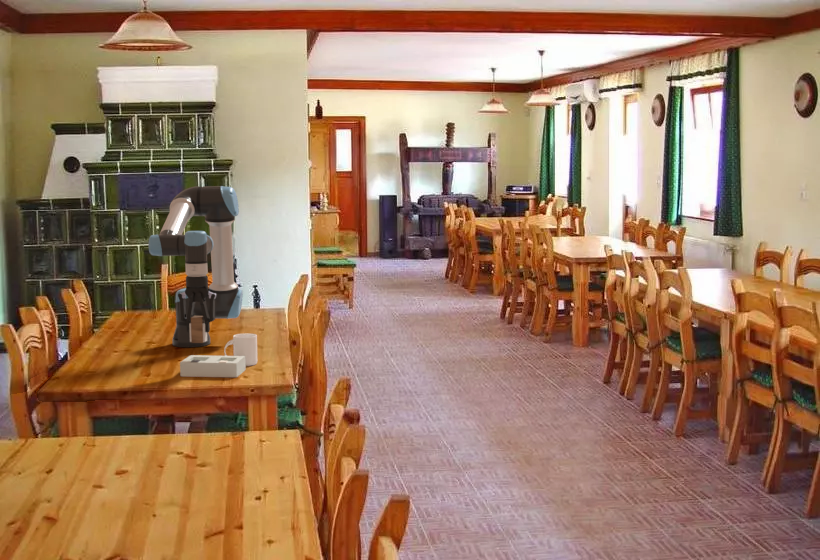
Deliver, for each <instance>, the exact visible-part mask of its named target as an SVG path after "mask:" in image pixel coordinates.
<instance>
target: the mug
mask: <svg viewBox="0 0 820 560" xmlns="http://www.w3.org/2000/svg"><path fill="white" fill-rule="evenodd" d="M231 345H233V356H245V367H251V366H255V365H257V364H258V335H257V334H256V333H245V332H244V333H237V334H234V335H233V336H232V339H230V340H229V341H227V343H226V344H225V345H224V348H223V349H224V351H223V353H224V356H228V355H227V353H226V349H227V347H229V346H231Z"/></svg>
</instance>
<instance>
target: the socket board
mask: <svg viewBox="0 0 820 560" xmlns="http://www.w3.org/2000/svg"><path fill="white" fill-rule="evenodd" d="M246 367H247V366H245V356H234V355H227V356H225V355H207V354H206V355H204V354H203V355H199V354H198V355H197V354H195V355H194V354H191V355H188V356H187V357H186V358H184V359H182V360H180V361H179V371H180V375H179V376H180V377H192V378H193V377H194V378H196V377H197V378H198V377H199V378H205V377H206V378H238V377H239V376H240V375H242V373H244V372H245V371H246V369H247V368H246Z"/></svg>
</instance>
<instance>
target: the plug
mask: <svg viewBox="0 0 820 560" xmlns="http://www.w3.org/2000/svg"><path fill="white" fill-rule="evenodd" d="M203 323H204V317H203V316H193V317H191V341H192V343H204V342H203Z"/></svg>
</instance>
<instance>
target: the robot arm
mask: <svg viewBox="0 0 820 560" xmlns="http://www.w3.org/2000/svg"><path fill="white" fill-rule="evenodd" d="M239 207H240V206H239V199H238V196H237V192H236V190H235V188H233V187H232V186H223V185H215V186H214V185H213V186H212V185H209V186H207V185H205V186H195V185H194V186H192V187H188V188H186V189H183V190H182V191H180V192H179V193H177V194H176V196H175V197H173V199H172V200H171V201H170V205H169V213H168V214H167V217H166V219H165V222H164V224H163V226H162V227H161V230H160V231H159V234H158V233H156V234H151V235H150V236H149V239H148V252H149V254H150V255H151V256H154V257H155V256H158V257H171V256H172V257H173V256H174V257H177V256H179V257H182V256H184V257H185V258H184V259H185V262H184V263H185V275H186V277H185V287H184V288H181V289H179V290H177V291H176V292H175V300H174V303H175V324H176V325H175V330H174V332H173V336H172V340H171V341H172V346H173V347H178V348H196V347H197V348H199V347H205V346H208V345H210V344H211V336H210V334H209V332H210V330H211V329H210V324H211V323H212V322H214V321H215V320H216V319H219V320H221V319H227V320H228V319H236V318H238V317H239V316H240V314H241V310H242V305H243V297H244V296H243V290H242V289H239V284H237V282H235V273H234V256H233V255H234V254H233V253H234V252H233V251H234V250H233V231H232V229H233V228H232V224H233V223H234V222H235V220H236V217H237V216H239V212H240V211H239ZM192 217H204V221H205V223H207V224H208V226H209V235H208V234H207V232H206V231H204V230H188V231H186V232H185V233H184V231H185V229H186V226H187V224H188V222H189V220H190V219H191V218H192ZM183 233H184V234H183ZM209 254H210V257H211V258H210V259H211V275H212V277H211V278H212V279H211V280H212V282H211V284H209V277H208V276H209V275H207V274H208V273H209V271H208V269H209V268H208V267H209V266H208V255H209ZM193 316H203V317H204V323H203V342H204V343H192V341H191V317H193Z"/></svg>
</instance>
